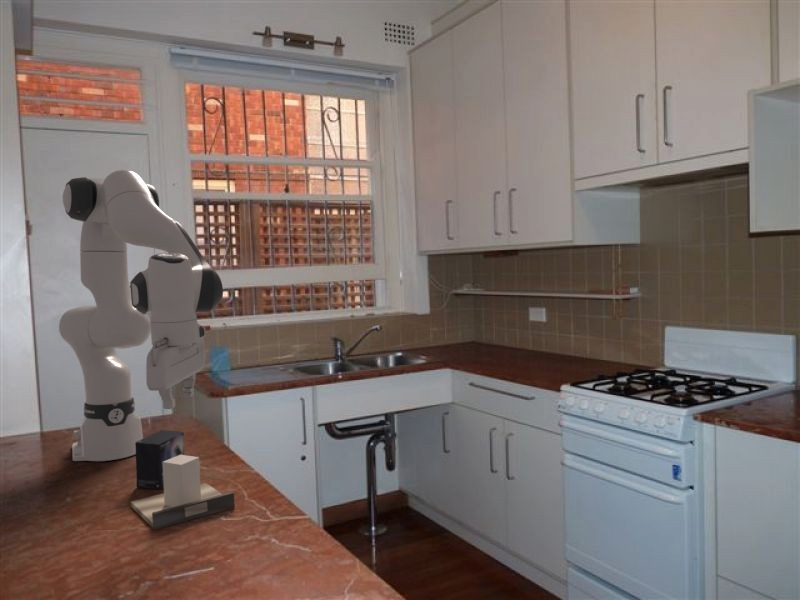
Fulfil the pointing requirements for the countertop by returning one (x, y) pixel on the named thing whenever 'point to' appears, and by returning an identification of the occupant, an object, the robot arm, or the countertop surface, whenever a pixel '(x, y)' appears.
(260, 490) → the countertop surface
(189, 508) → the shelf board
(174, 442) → the small box
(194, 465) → the carton
